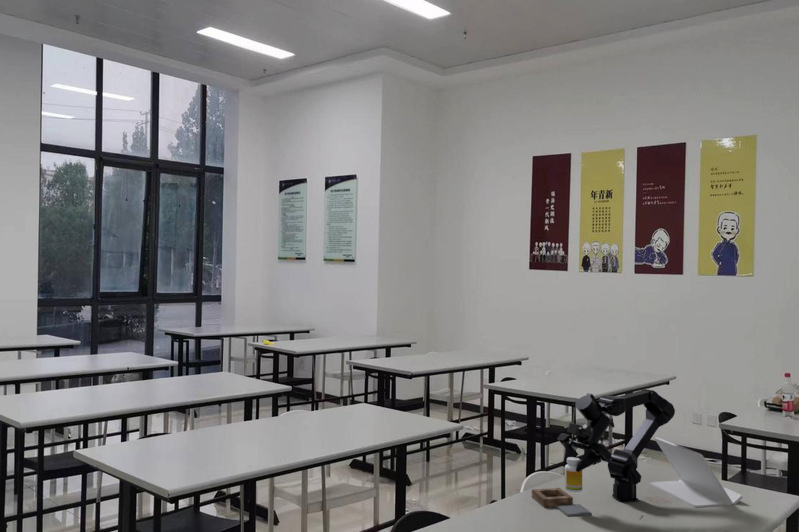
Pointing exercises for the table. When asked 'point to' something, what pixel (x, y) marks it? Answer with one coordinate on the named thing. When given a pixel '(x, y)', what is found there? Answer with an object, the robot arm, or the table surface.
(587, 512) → the rubber mat
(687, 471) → the tablet stand
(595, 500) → the table surface
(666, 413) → the robot arm
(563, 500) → the walnut collar
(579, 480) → the supplement bottle
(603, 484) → the table surface
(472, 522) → the table surface
